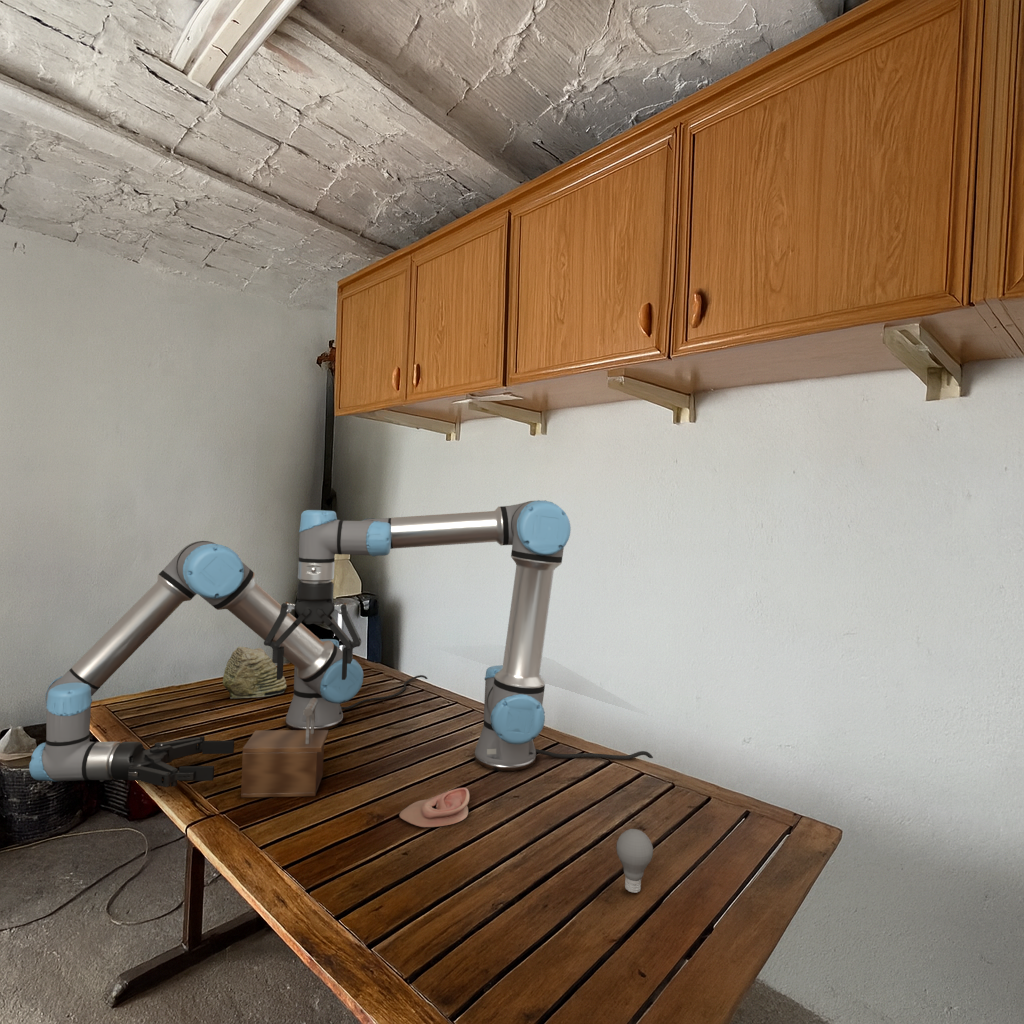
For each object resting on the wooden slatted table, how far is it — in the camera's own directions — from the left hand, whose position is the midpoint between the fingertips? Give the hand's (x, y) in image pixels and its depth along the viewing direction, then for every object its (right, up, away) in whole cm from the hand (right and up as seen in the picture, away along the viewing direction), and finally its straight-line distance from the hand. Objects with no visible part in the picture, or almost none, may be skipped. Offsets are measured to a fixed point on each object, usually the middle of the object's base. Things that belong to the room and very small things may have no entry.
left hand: (224, 759), depth 136 cm
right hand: (+18, +17, +2) cm, 25 cm away
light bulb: (+82, -10, -30) cm, 88 cm away
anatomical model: (+46, -8, -7) cm, 47 cm away
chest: (+12, -7, +2) cm, 14 cm away
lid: (+13, +3, +2) cm, 13 cm away
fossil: (-19, -4, +62) cm, 65 cm away
